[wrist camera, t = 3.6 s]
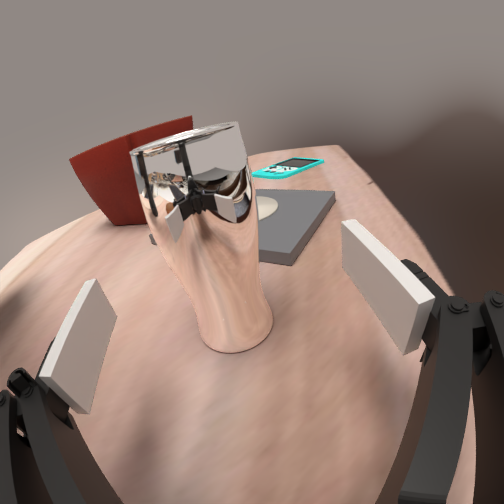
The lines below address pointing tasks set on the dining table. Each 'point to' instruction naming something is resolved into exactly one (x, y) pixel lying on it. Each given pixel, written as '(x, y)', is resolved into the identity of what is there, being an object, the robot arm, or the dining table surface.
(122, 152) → the plant pot
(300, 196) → the serving board
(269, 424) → the dining table surface
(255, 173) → the handheld game console
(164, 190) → the beer glass
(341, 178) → the dining table surface
